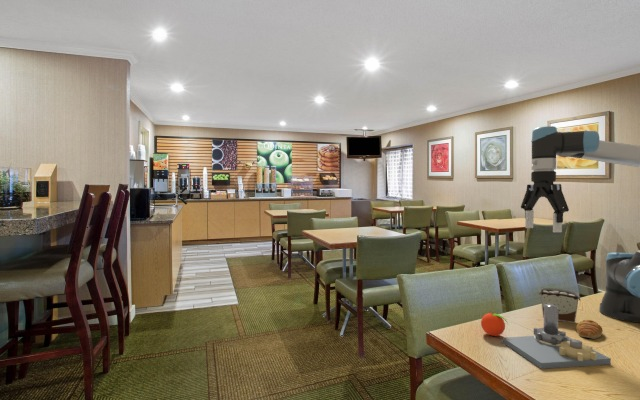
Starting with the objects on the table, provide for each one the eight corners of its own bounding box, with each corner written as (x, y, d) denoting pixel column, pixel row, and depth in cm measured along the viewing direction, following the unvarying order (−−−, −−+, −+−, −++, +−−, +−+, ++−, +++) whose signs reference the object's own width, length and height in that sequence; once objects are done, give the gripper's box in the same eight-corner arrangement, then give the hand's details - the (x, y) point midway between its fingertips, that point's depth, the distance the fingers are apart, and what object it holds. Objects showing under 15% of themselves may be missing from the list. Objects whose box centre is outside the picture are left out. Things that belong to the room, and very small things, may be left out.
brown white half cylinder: (578, 318, 128) (579, 290, 128) (580, 323, 123) (580, 295, 123) (538, 312, 135) (539, 285, 135) (538, 316, 130) (538, 289, 129)
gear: (553, 332, 111) (554, 300, 111) (575, 344, 103) (576, 309, 102) (527, 334, 110) (527, 302, 110) (547, 345, 102) (547, 311, 101)
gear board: (560, 337, 111) (561, 322, 111) (612, 365, 94) (613, 346, 94) (501, 341, 109) (501, 325, 109) (543, 370, 92) (543, 350, 92)
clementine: (511, 335, 113) (511, 313, 113) (504, 342, 108) (505, 319, 108) (485, 329, 119) (485, 307, 119) (477, 335, 114) (477, 313, 113)
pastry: (601, 342, 108) (601, 330, 108) (573, 337, 113) (574, 325, 113) (602, 333, 115) (603, 321, 115) (577, 328, 120) (577, 317, 120)
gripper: (511, 172, 140) (510, 226, 140) (561, 168, 115) (560, 234, 115) (528, 172, 140) (528, 226, 141) (582, 168, 116) (581, 234, 116)
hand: (542, 230), depth 128 cm, fingers open, 13 cm apart
